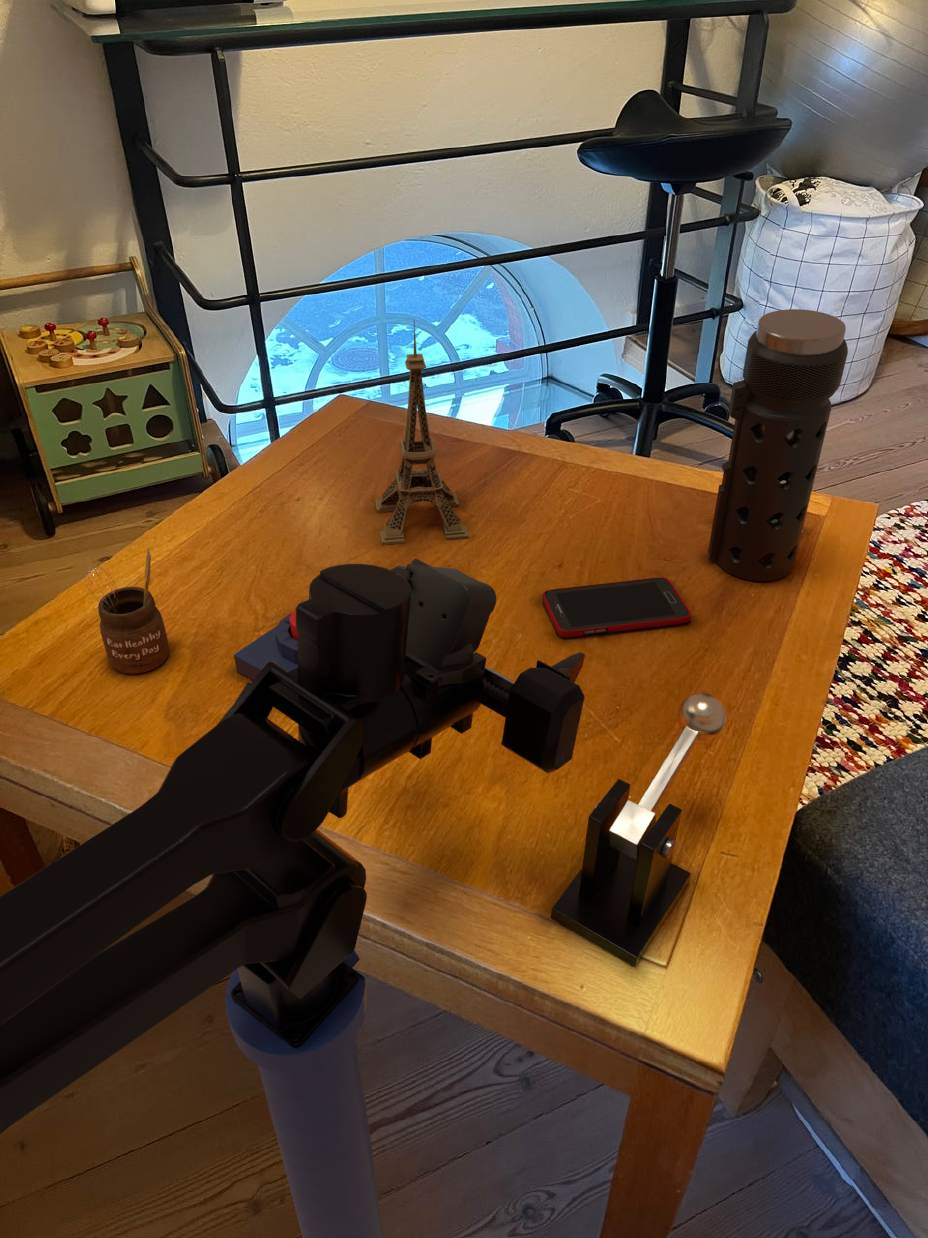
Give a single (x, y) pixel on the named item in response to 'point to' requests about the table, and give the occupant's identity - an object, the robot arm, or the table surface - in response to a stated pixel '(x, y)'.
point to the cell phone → (615, 607)
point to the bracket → (623, 883)
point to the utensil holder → (132, 627)
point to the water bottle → (776, 441)
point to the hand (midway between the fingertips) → (532, 633)
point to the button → (293, 625)
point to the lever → (667, 771)
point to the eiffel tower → (410, 478)
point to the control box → (269, 651)
